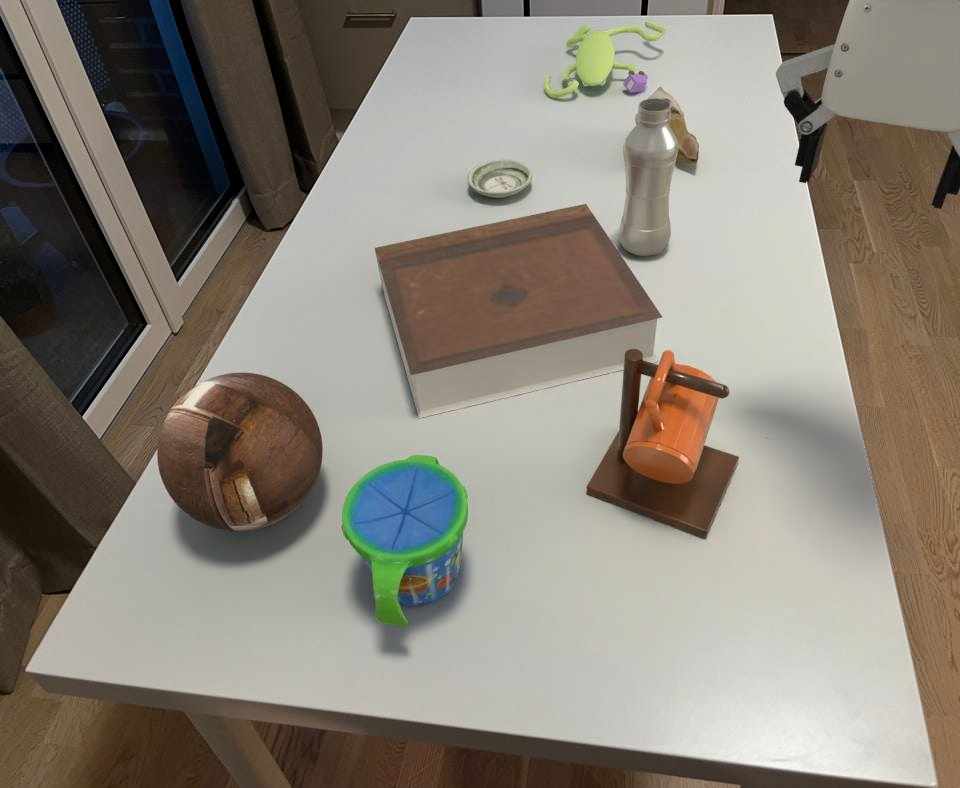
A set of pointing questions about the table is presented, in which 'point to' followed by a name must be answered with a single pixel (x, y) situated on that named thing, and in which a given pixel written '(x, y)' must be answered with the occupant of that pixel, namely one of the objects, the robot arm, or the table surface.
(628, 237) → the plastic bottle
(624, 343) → the book
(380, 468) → the snack cup
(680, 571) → the table surface
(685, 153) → the ceramic sculpture
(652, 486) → the mug stand
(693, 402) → the mug
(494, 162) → the saucer
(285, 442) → the wooden sphere
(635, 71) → the figurine
